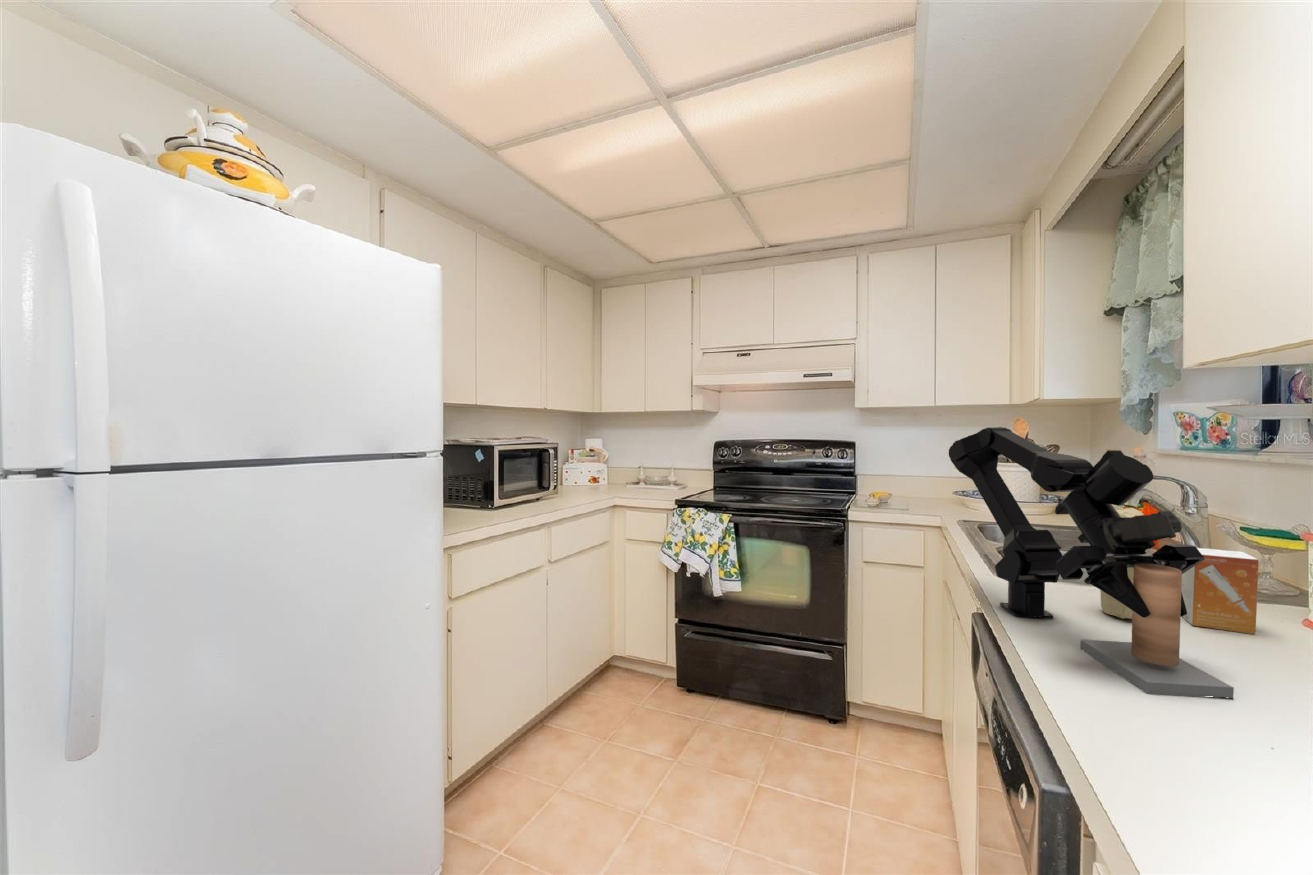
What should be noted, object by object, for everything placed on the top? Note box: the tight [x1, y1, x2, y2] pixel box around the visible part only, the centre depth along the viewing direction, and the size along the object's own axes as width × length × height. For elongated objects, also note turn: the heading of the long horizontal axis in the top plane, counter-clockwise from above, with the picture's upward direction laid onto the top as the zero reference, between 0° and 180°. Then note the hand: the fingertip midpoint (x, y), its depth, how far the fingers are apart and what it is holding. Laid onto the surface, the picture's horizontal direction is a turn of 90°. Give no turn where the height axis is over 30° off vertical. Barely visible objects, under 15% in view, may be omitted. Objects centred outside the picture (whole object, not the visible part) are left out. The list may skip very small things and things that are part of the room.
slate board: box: [1080, 639, 1235, 699], centre depth 77 cm, size 14×10×2 cm
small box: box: [1181, 547, 1260, 635], centre depth 95 cm, size 8×6×13 cm
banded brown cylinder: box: [1131, 563, 1182, 666], centre depth 76 cm, size 5×5×13 cm
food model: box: [1099, 507, 1148, 620], centre depth 99 cm, size 10×7×20 cm
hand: (1165, 615), depth 75 cm, fingers closed on banded brown cylinder, 5 cm apart
